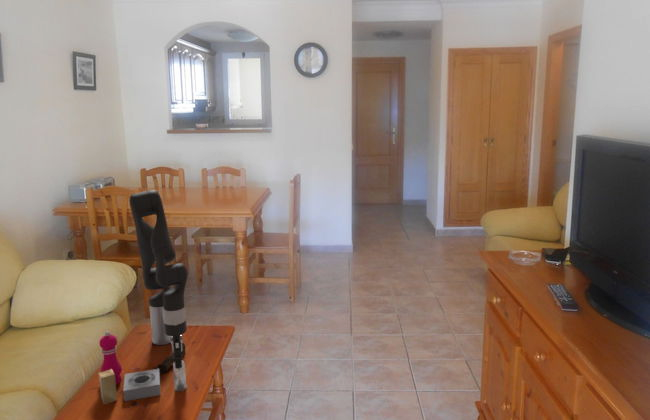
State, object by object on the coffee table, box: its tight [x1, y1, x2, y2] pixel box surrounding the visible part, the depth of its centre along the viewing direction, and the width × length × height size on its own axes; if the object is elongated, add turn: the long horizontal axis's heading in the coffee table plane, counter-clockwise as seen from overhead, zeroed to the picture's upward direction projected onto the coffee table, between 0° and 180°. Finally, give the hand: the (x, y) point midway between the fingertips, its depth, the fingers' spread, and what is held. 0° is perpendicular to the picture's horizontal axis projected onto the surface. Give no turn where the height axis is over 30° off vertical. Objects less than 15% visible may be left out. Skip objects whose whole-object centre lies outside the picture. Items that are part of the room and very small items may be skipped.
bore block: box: [122, 368, 161, 402], centre depth 182 cm, size 12×12×4 cm
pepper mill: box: [99, 331, 123, 385], centre depth 185 cm, size 7×7×20 cm
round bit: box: [172, 359, 187, 392], centre depth 181 cm, size 4×4×10 cm
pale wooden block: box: [98, 369, 118, 405], centre depth 175 cm, size 4×4×10 cm
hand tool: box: [156, 342, 186, 374], centre depth 201 cm, size 19×4×5 cm, turn 166°
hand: (178, 362), depth 180 cm, fingers open, 8 cm apart
